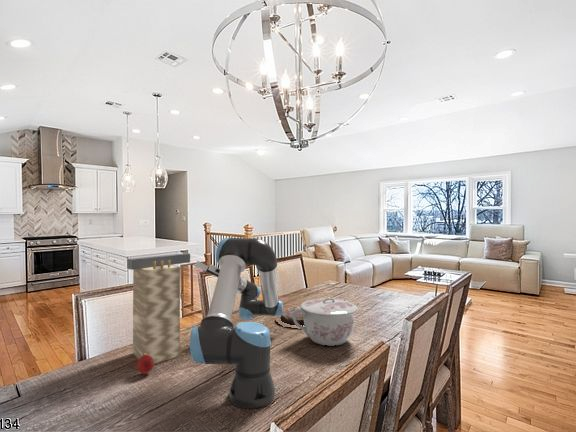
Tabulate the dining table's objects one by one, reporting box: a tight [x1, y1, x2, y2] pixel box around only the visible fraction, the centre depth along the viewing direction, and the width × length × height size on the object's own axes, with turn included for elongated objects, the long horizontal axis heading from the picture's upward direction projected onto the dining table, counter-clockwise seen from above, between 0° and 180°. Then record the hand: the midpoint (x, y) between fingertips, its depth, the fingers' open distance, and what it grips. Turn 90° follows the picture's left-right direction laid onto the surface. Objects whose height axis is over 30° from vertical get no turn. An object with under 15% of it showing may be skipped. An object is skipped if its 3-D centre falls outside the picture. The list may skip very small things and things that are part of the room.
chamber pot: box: [292, 297, 359, 347], centre depth 154 cm, size 28×28×21 cm
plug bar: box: [126, 252, 191, 270], centre depth 140 cm, size 27×4×4 cm, turn 141°
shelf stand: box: [132, 260, 181, 365], centre depth 137 cm, size 14×16×41 cm
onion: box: [136, 353, 155, 375], centre depth 120 cm, size 6×6×8 cm
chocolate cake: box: [280, 306, 304, 326], centre depth 183 cm, size 28×28×7 cm
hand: (202, 265), depth 151 cm, fingers open, 13 cm apart
